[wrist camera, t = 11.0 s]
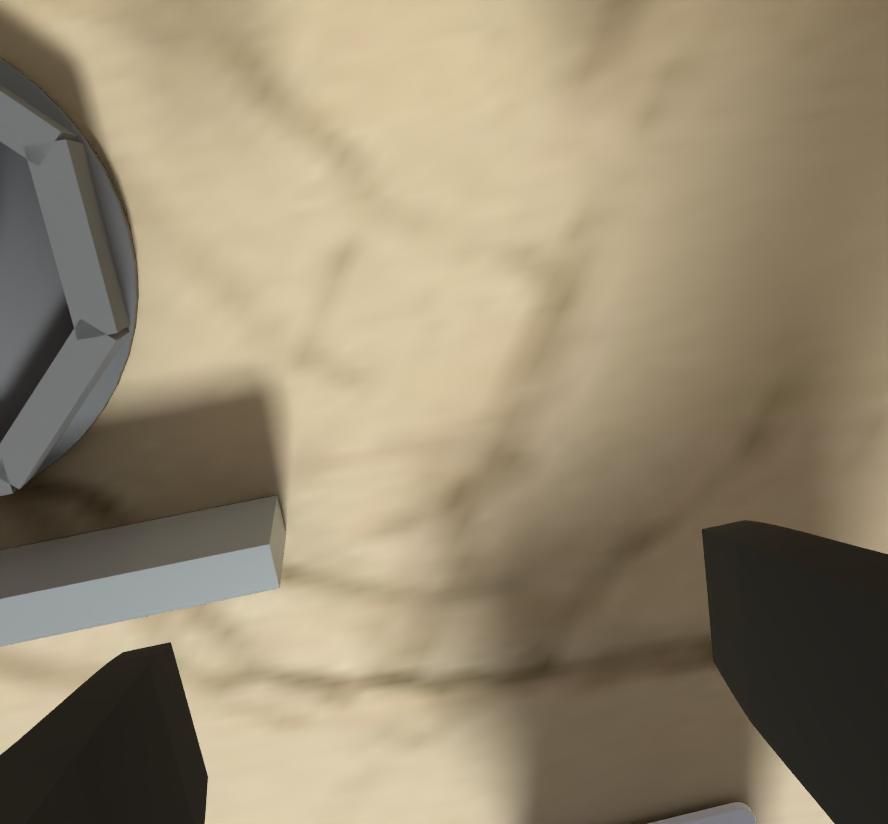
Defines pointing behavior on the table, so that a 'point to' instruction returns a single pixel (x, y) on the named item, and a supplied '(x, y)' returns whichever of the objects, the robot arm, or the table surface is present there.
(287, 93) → the table surface
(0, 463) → the gray octagonal bowl
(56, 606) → the low wall
